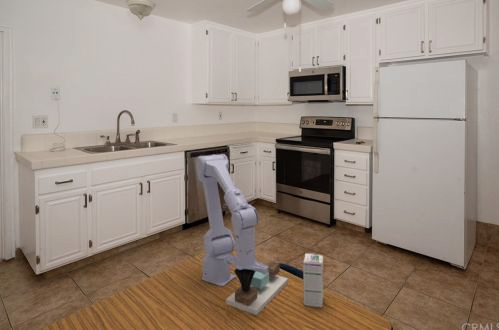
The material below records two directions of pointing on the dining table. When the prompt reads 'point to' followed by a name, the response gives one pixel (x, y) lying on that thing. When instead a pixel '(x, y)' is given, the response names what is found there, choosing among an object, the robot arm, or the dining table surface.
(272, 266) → the far walnut button
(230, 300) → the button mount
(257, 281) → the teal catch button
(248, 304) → the brown ledged cube
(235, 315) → the dining table surface
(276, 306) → the dining table surface
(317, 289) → the syrup box
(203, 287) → the dining table surface
